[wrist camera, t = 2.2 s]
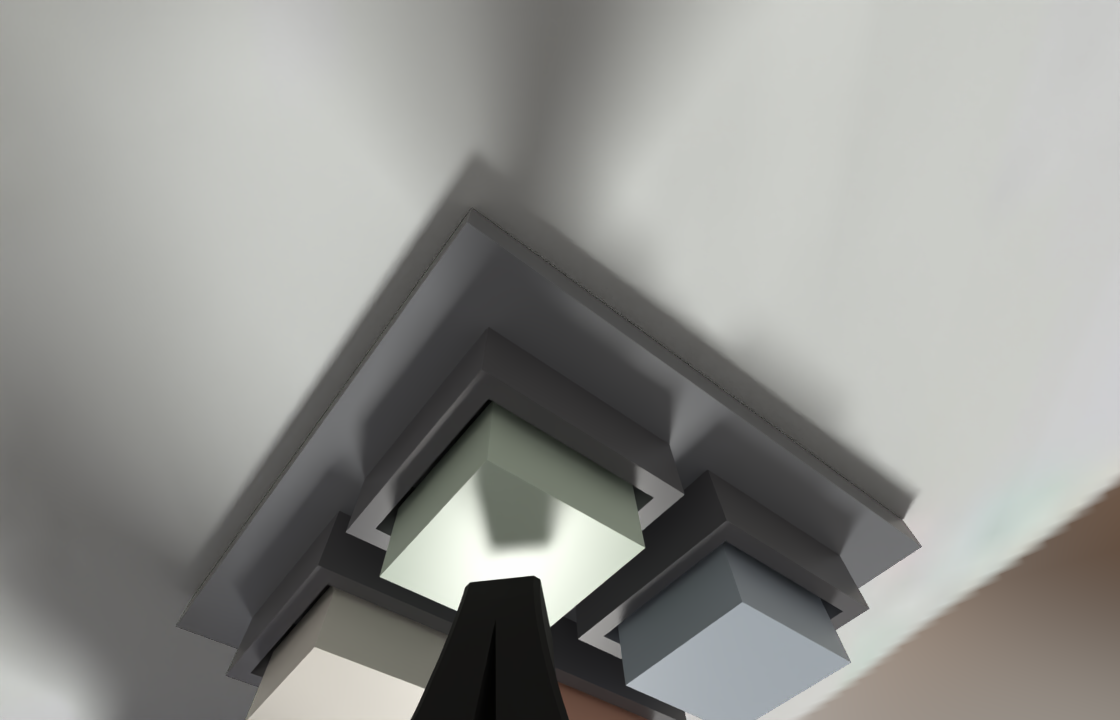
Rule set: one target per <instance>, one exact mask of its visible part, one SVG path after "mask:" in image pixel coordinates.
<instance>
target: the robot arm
mask: <svg viewBox="0 0 1120 720" xmlns="http://www.w3.org/2000/svg"><path fill="white" fill-rule="evenodd" d="M411 720H569V718H568V715H567V712H566V708H565V705H564V702H563V699H562V695H561V692H560V688H559V685H558V681H557V678H556V671H555V663H554V652H553V640H552V634H551V629H550V624H549V619H548V614H547V609H546V604H545V599H544V594H543V589H542V585H541V580H540V579H539V578H537V577H536V576H534V575H533V576H524V577H515V578H505V579H496V580H486V581H477V582H470V583H469V584H468V585H467V586H466V587H465V589H464V592H463V595H462V598H461V601H460V604H459V607H458V610H457V613H456V616H455V618H454V621H453V624H452V626H451V629H450V631H449V634H448V637H447V639H446V641H445V644H444V646H443V649H442V651H441V654H440V656H439V659H438V661H437V663H436V665H435V668H434V670H433V672H432V674H431V677H430V679H429V681H428V683H427V686H426V688H425V690H424V692H423V695H422V697H421V699H420V701H419V703H418V705H417V708H416V710H415V712H414V714H413V716H412V718H411Z"/></svg>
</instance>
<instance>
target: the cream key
mask: <svg viewBox="0 0 1120 720" xmlns="http://www.w3.org/2000/svg"><path fill="white" fill-rule="evenodd" d="M447 637H448V635H446V634H444V633H442V632H439V631H437V630H434V629H432V628H430V627H427V626H425V625H423V624H420V623H418V622H415V621H413V620H411V619H408V618H406V617H404V616H401V615H399V614H397V613H394V612H392V611H389V610H387V609H385V608H382V607H380V606H378V605H375V604H373V603H370V602H368V601H366V600H363V599H361V598H359V597H356V596H354V595H351V594H349V593H347V592H344V591H342V590H340V589H337V588H335V587H332V586H330V587H329V588H328V589H327V591H326V592H325V593H324V594H323V595H322V596H321V597H320V599H319V600H318V601H317V602H316V603H315V604H314V605H313V607H312V608H311V609H310V610H309V611H308V612H307V613H306V615H305V616H304V617H303V618H302V619H301V620H300V621H299V623H298V624H297V625H296V626H295V627H294V628H293V629H292V631H291V632H290V633H289V634H288V635H287V636H286V637H285V639H284V640H283V641H282V642H281V643H280V644H279V646H278V647H277V648H276V649H275V650H274V651H273V654H272V656H271V658H270V661H269V663H268V666H267V668H266V671H265V673H264V675H263V678H262V680H261V683H260V685H259V688H258V690H257V693H256V695H255V697H254V700H253V702H252V705H251V707H250V710H249V712H248V715H247V717H246V719H245V720H411V718H412V716H413V714H414V712H415V710H416V708H417V705H418V703H419V701H420V699H421V697H422V695H423V692H424V690H425V688H426V686H427V683H428V681H429V679H430V677H431V674H432V672H433V670H434V668H435V665H436V663H437V661H438V659H439V656H440V654H441V651H442V649H443V646H444V644H445V641H446V639H447Z"/></svg>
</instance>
